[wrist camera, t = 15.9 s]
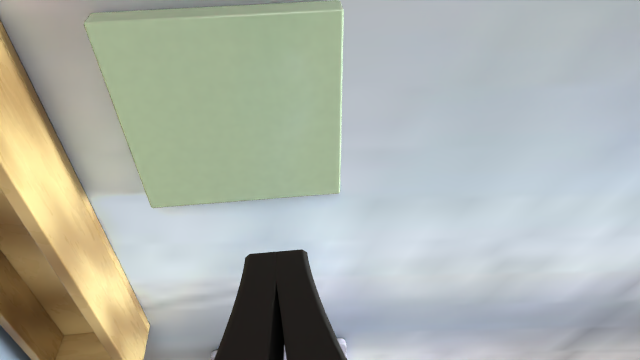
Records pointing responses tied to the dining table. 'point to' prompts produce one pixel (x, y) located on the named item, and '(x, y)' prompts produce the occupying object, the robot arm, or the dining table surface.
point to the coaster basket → (55, 243)
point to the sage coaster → (227, 98)
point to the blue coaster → (10, 348)
